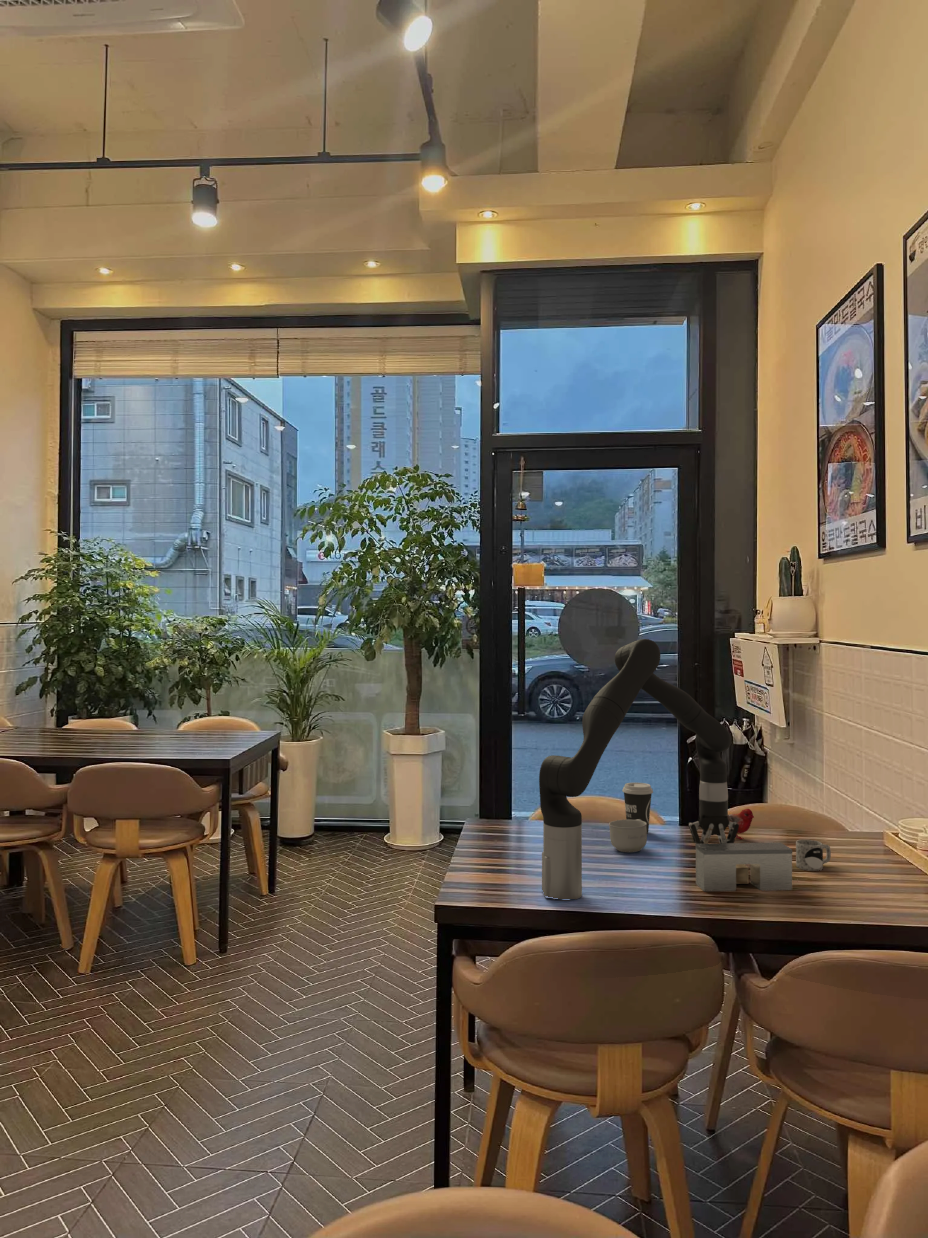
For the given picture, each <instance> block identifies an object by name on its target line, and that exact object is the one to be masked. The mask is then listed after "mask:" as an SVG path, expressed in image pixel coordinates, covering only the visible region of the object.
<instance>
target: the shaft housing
mask: <svg viewBox="0 0 928 1238" xmlns="http://www.w3.org/2000/svg"><path fill="white" fill-rule="evenodd" d="M694 844H695V885H696V886H698V888H700V889H701V890H702V891H703V892H737V884H736V864H744V865H749V866H750V867H749V868H750V869H749V870H750V872H749V874H750V876H749V877H750V882H749V883H750V884H751V885H752V886H754V887H755V888H756V889H757V890H759V891H760V890H762V891H764V890H765V891H792V890H793V848H790V847H789V846H787V845H786V844H784V843H782V842H740V843H739V842H738V843H737V842H734V843H720V842H719V843H715V842H714V843H713V842H712V843H708V844H696V843H694Z"/></svg>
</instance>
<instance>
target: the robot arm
mask: <svg viewBox="0 0 928 1238" xmlns="http://www.w3.org/2000/svg"><path fill="white" fill-rule="evenodd" d="M660 662H661V651H660V648H659V645H658V644H657V643H656V642H655V641H654V640H652V639H649V638H641V639H637V640H635V641H632V642H630V643H628V644H625V645H623V646H621V647H619V648H618V649H617V650H616V652H615V654H614V663H615V666H616V668H617V670H618V671H619V672H618V673H617V674H616V675H615V676H614V677H612V679H610V680H609V681H608V682H607V683H606V684H604V686H603V687H601V688H600V690H599V691H598V692H597V693H596V694H595V695H594V696H593V698H591V701H590V703H589V704H588V705H587V707H586V708H585V711H584V713H583V715H582V732H583V733H582V735H583V741H582V743H581V745H580V747H579V749H578V750H577V752H576V753H575V755H574V756H573V757H571V756H562V755H556V754H554V755H548V756H546V757H545V758H544V759H543V761H542V763H541V765H540V769H539V772H538V773H539V774H538V775H539V776H538V784H539V785H538V786H539V803H540V804H539V807H540V811H541V814H542V818H543V819H542V820H543V822H542V825H543V829H542V830H543V832H542V833H543V835H542V836H543V837H542V838H543V840H542V841H543V844H542V847H543V851H542V852H541V891H542V890H543V892H544V894H543V896H544V895H545V896H548V897H553V898H558V899H575V900H578V899H580V898H582V895H583V868H582V867H583V864H582V863H583V862H582V861H583V860H582V858H583V847H582V846H583V845H582V843H583V841H582V840H583V839H582V838H583V833H582V832H583V831H582V830H583V829H582V828H583V827H582V826H583V824H582V823H583V819H582V818H583V816H582V812H581V810H579V809H578V808H577V807H575V806H574V805H573V804H571V802H570V801H569V799H568V797H569V798H574V797H579V796H580V795H582V794H583V793H584V792H585V790H586V789H587V788H588V786H589V784H590V782H591V780H592V778H593V775H594V773H595V771H596V770H597V767H598V764H599V762H600V760H601V758H602V756H603V754H604V752H605V750H606V749H607V747H608V745H609V743H610V742H611V740H612V739H613V737H614V734H615V733H616V732H617V730H618V729H619V728H620V726H621V724H622V722H623V721H624V718H625V717H626V715H627V713H628V711H629V709H630V708H631V706H632V705H633V703H634V701H635V699H637V696H638V695H639V692H640V691H641V690H642V691H643V692H645V693H646V694H648V695H649V696H651V698H653V699H654V700H655V701H657V703H659V704H661V705H662V706H663V707H664V708H665V709H666V710H667V711H668V712H669V713H670V714H671V715H672V716H673V717H674V718H675V719H676V720H677V721H678V722H679V723H680V724H681V725H682V726H683V727H685V729H687V730H689V731H692V732H693V733H694V734H695V747H696V752H697V758H698V762H699V765H700V766H699V768H700V769H699V775H700V776H699V786H698V787H699V791H698V793H699V794H698V799H699V800H698V801H699V803H698V804H699V806H698V807H699V809H698V813H699V815H698V819H697V821H694V822H688V824H687V825H688V828H689V831H690V834H691V838H692V839H693V840H692V841H693V843H694V844H709V841H710V840H711V837H712V836H716V837H718V842H719V843H735V840H736V835H738V833H737V831H738V828H739V825H738V824H737V823H735V822H730V821H729V819H728V815H729V809H728V808H729V803H728V802H729V801H728V800H729V791H728V790H729V789H728V782H727V781H728V780H727V778H728V777H727V775H728V774H727V772H728V771H727V763H726V762H725V761H724V760H723V758H721V757H722V756H721V753H722V752H725V751H727V750H728V749H729V748H730V747H731V744H732V735H731V734H730V732H729V730H728V729H727V728H726V726H724V725H723V724H722V723H721V722H720V721H718V720H717V719H716V718H714V717H713V716H712V715H710V714H709V713H708V712H706V710H705V709H704V708H703V707H702V705H700V704H699V703H698V702H697V701H696V700H695V698H693V697H692V696H691V695H690V694H689V693H688V692H686V691H684V690H683V689H681V688H679V687H678V686H675V685H674V684H672V683H669V682H667V681H666V680H664V679H662V678H661V677H659V676H657V675H656V673H654V672H655V671H656V670H657V669H658V667H659V665H660ZM728 825H729V828H728V827H727V826H728ZM699 827H700V828H701V829H702V831H701V839H700V835H699V833H698V830H699ZM727 828H728V829H729V831H728V833H727V835H726V833H725V831H726V830H727ZM543 892H542V893H543ZM545 896H544V897H545Z"/></svg>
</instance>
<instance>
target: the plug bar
mask: <svg viewBox="0 0 928 1238" xmlns="http://www.w3.org/2000/svg"><path fill="white" fill-rule="evenodd" d="M749 883H750V882H749V866H747V864H736V885H739V884H740V885H741V884H742V885H743V884H744V885H746V884H748V885H749Z"/></svg>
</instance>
